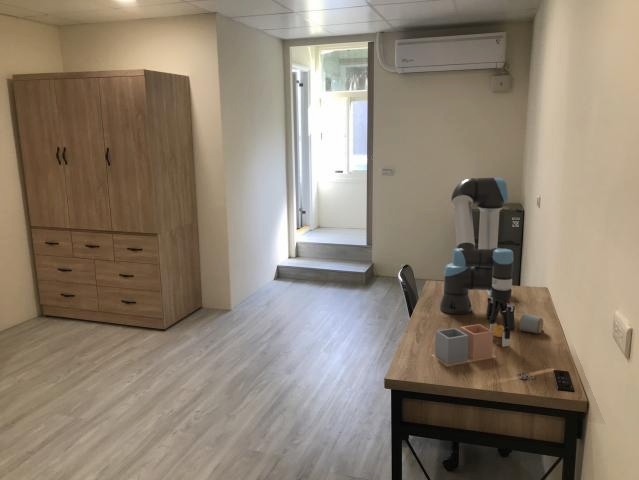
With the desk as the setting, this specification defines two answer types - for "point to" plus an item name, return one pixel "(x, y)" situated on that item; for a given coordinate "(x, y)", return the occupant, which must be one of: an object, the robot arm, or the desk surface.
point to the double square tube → (463, 345)
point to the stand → (497, 340)
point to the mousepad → (525, 376)
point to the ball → (498, 330)
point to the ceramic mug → (531, 323)
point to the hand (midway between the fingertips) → (498, 342)
